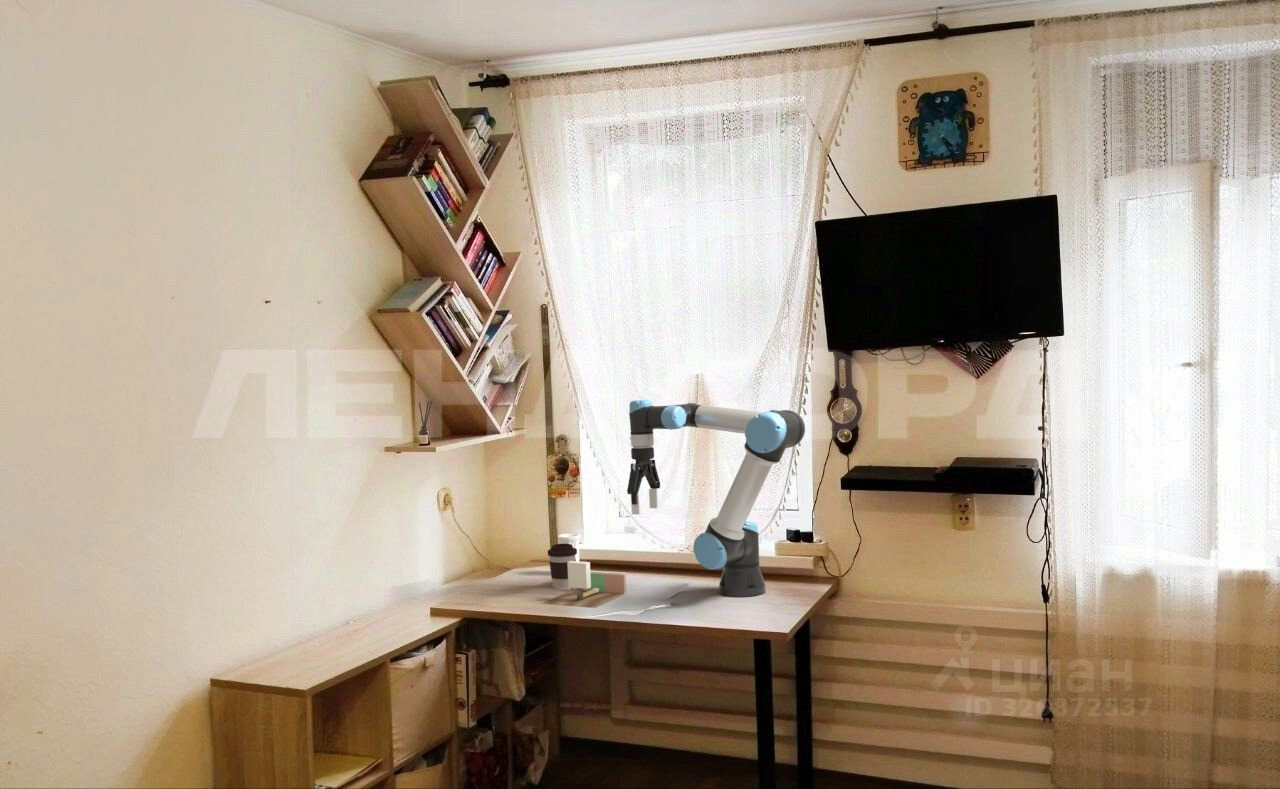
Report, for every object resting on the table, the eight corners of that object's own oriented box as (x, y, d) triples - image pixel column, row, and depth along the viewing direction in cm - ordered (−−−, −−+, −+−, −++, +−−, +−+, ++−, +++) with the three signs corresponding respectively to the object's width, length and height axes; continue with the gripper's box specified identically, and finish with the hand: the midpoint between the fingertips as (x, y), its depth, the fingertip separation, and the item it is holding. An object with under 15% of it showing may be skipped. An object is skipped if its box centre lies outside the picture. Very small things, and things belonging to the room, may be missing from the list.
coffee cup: (560, 593, 338) (558, 548, 338) (543, 589, 346) (541, 545, 345) (584, 588, 345) (582, 544, 344) (566, 584, 352) (564, 541, 352)
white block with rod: (587, 601, 320) (585, 563, 320) (569, 599, 324) (567, 562, 323) (606, 593, 330) (604, 557, 329) (588, 592, 333) (586, 555, 333)
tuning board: (626, 596, 330) (626, 592, 330) (596, 611, 311) (595, 607, 311) (573, 592, 339) (573, 589, 339) (540, 607, 320) (540, 603, 320)
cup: (559, 572, 373) (558, 534, 373) (581, 571, 374) (580, 532, 373) (559, 577, 365) (557, 537, 365) (581, 576, 365) (580, 536, 365)
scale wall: (626, 592, 330) (625, 572, 330) (624, 593, 329) (623, 573, 328) (572, 589, 339) (571, 569, 338) (570, 590, 337) (569, 570, 337)
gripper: (648, 443, 347) (651, 505, 348) (614, 450, 325) (617, 516, 325) (668, 443, 344) (671, 505, 344) (635, 450, 321) (638, 517, 322)
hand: (645, 511), depth 335 cm, fingers open, 13 cm apart
